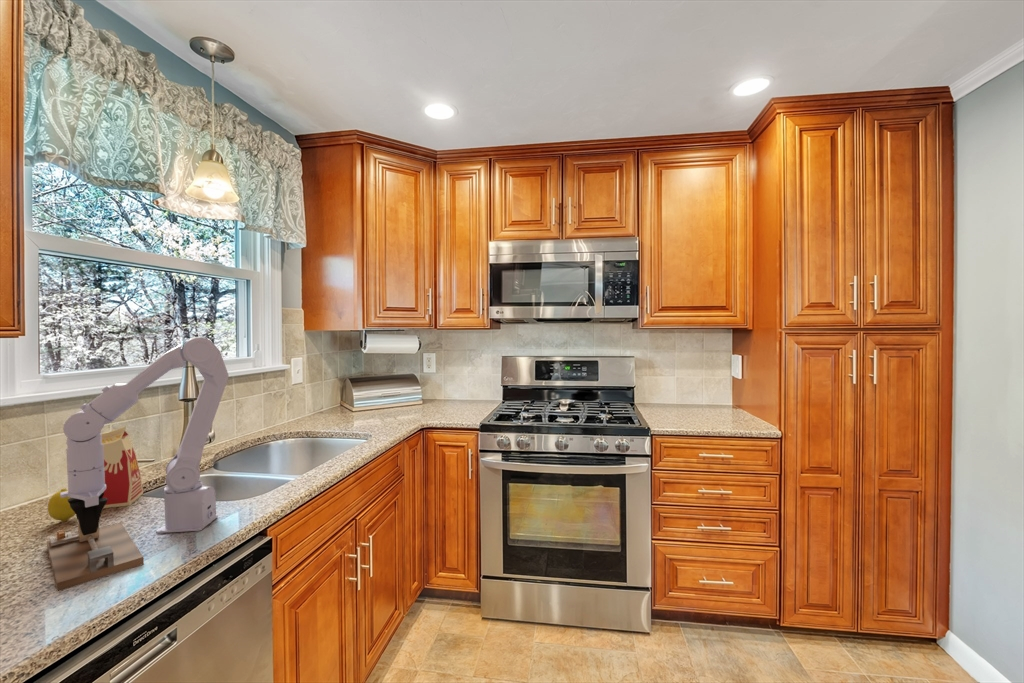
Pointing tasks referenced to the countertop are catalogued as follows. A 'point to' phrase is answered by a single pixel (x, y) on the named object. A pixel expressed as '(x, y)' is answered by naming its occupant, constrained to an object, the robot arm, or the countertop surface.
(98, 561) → the keeper board
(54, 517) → the lemon
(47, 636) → the countertop surface
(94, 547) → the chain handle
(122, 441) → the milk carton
